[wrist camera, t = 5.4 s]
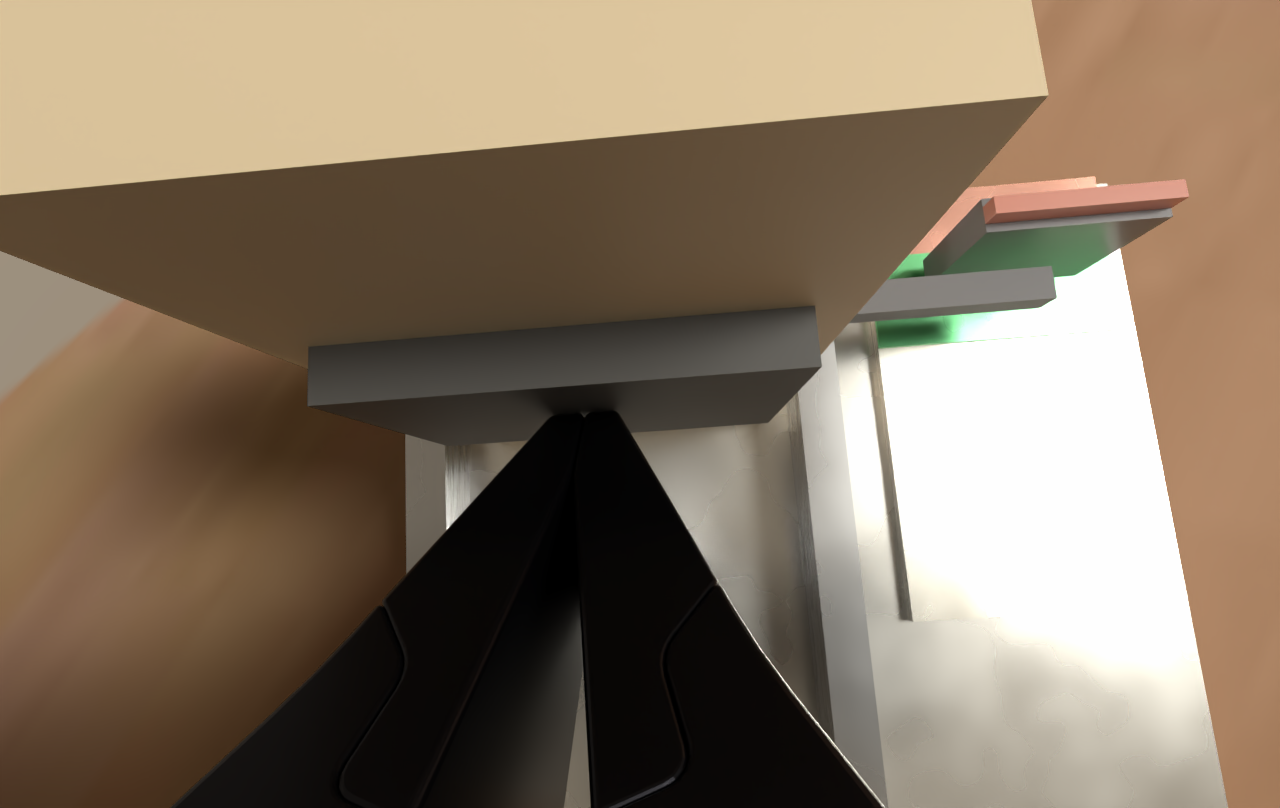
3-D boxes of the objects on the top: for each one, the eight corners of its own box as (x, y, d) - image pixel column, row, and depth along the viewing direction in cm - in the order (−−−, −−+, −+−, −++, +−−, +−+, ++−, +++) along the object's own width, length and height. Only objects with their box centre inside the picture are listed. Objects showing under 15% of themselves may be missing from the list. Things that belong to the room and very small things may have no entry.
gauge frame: (1191, 799, 14) (1302, 861, 11) (446, 831, 14) (397, 896, 12) (1080, 204, 16) (1153, 147, 13) (437, 260, 17) (394, 216, 14)
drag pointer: (1074, 275, 14) (1191, 205, 11) (926, 287, 14) (998, 222, 11) (1069, 248, 14) (1183, 170, 11) (922, 260, 14) (992, 187, 11)
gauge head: (1014, 427, 14) (2263, 107, 3) (486, 465, 14) (-130, 316, 3) (984, 239, 14) (1907, -598, 4) (480, 281, 15) (-49, -327, 4)
